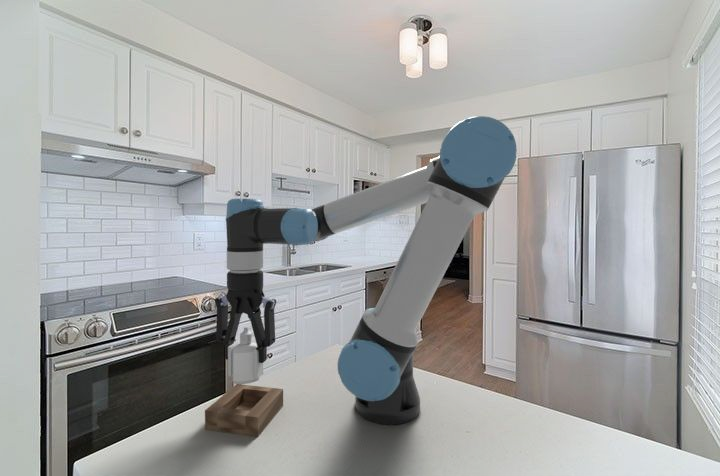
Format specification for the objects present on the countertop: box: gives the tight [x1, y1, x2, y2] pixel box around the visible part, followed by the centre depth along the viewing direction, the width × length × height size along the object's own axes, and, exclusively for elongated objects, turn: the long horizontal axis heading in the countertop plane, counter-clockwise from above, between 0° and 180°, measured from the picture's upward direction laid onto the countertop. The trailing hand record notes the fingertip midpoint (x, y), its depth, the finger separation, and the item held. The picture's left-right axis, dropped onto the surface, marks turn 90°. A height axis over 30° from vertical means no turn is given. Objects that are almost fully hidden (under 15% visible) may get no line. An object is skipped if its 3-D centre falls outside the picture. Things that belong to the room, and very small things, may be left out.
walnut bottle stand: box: [204, 384, 284, 437], centre depth 76 cm, size 12×12×4 cm
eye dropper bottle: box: [232, 326, 260, 385], centre depth 76 cm, size 4×6×12 cm
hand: (245, 374), depth 76 cm, fingers closed on eye dropper bottle, 5 cm apart
